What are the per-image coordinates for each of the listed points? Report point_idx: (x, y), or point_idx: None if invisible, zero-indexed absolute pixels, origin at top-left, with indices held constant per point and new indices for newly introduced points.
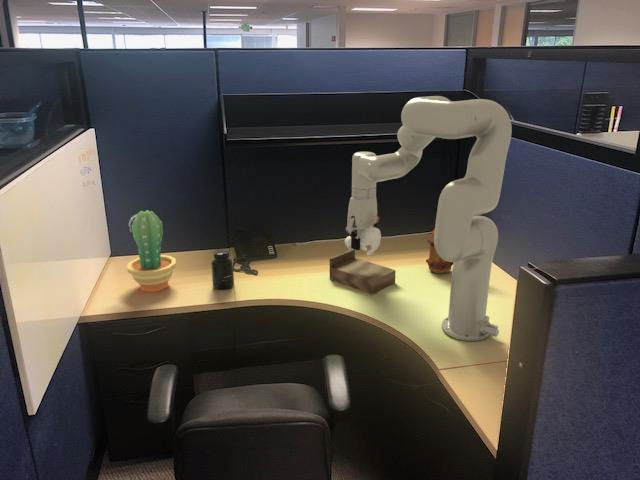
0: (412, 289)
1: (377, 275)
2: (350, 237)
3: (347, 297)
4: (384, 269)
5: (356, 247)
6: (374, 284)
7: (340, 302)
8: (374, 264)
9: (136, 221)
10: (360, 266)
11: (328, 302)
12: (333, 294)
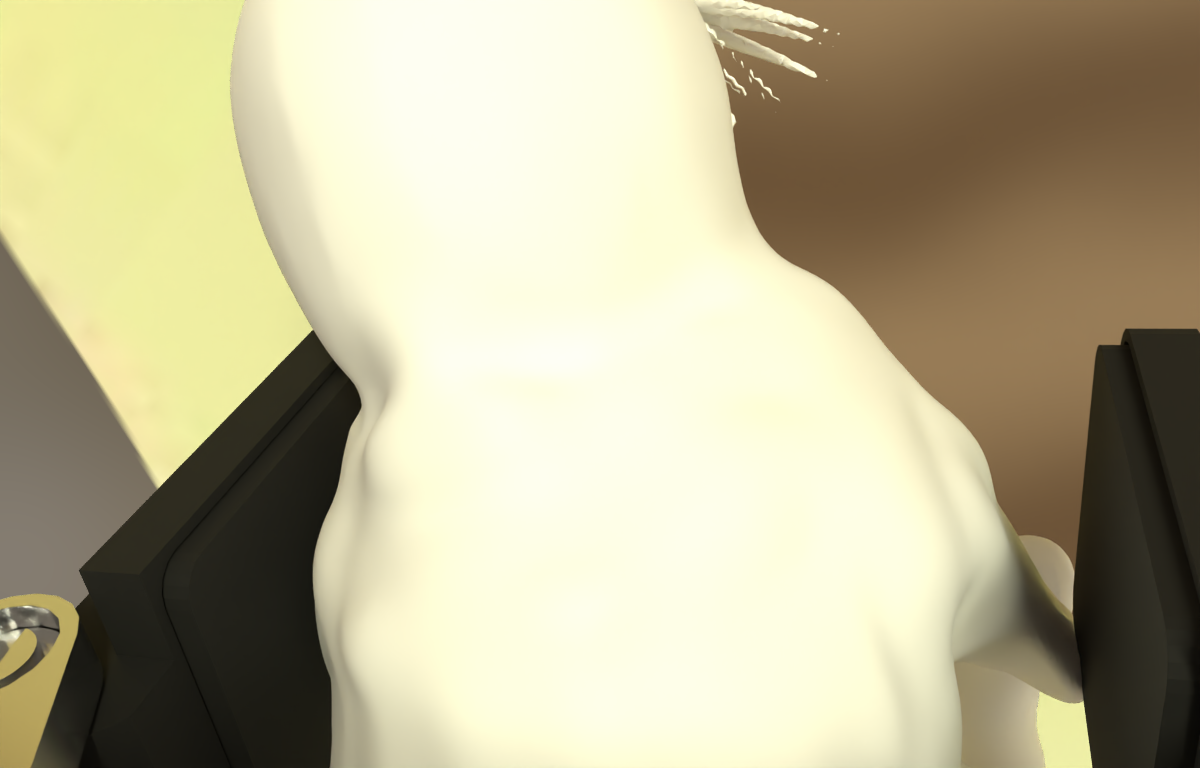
0: (1082, 743)
1: None
2: (309, 277)
3: (286, 310)
4: (1061, 516)
5: None
6: None
7: (148, 334)
8: (1186, 234)
9: None
10: (862, 89)
11: (28, 235)
12: (180, 120)
